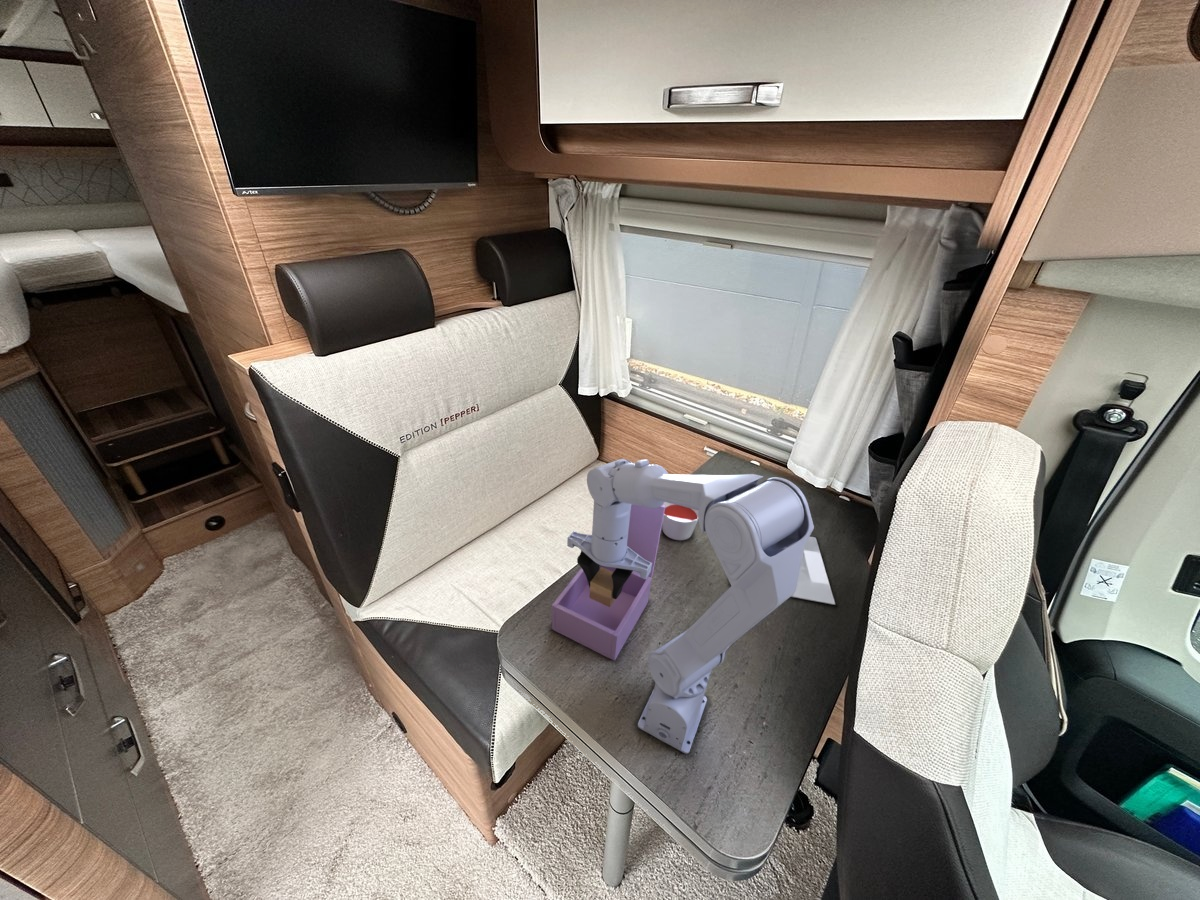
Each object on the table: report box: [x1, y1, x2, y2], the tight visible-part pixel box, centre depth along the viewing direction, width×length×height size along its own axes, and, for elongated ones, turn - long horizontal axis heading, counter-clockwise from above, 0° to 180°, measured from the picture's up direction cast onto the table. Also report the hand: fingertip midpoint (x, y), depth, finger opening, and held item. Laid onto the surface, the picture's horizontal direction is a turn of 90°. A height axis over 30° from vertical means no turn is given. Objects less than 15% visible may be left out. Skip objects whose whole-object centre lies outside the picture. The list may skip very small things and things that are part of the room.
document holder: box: [790, 536, 836, 606], centre depth 101 cm, size 20×1×20 cm
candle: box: [661, 502, 699, 541], centre depth 107 cm, size 9×9×6 cm
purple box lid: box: [627, 505, 665, 579], centre depth 85 cm, size 16×13×1 cm
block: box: [590, 567, 615, 607], centre depth 80 cm, size 4×4×4 cm
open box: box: [551, 565, 653, 662], centre depth 85 cm, size 15×13×6 cm
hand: (605, 589), depth 81 cm, fingers closed on block, 4 cm apart
